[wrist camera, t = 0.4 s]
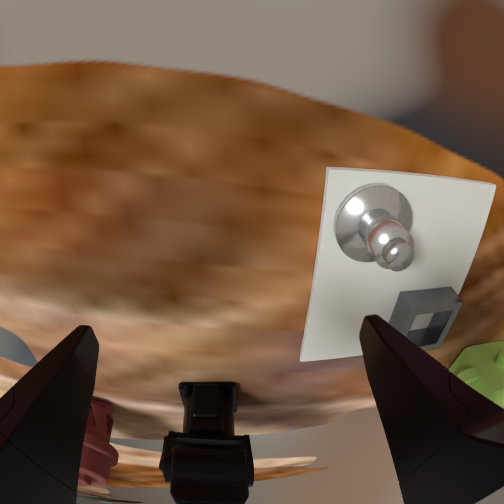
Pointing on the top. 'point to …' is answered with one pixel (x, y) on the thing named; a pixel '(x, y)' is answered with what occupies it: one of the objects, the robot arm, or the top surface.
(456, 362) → the green pegged block
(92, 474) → the mechanical component
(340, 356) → the mat
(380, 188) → the silver domed knob
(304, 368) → the top surface
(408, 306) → the square frame
